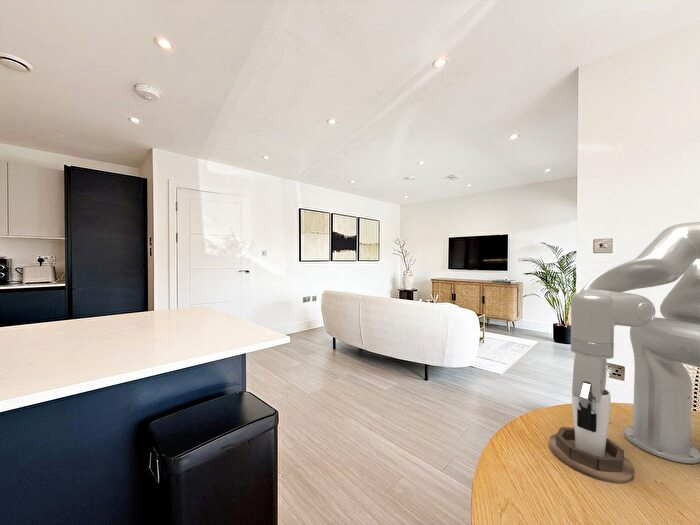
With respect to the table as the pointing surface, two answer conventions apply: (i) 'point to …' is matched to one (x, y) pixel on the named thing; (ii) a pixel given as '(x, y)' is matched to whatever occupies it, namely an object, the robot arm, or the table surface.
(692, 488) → the table surface
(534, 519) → the table surface
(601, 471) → the glass holder
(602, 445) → the drinking glass
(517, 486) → the table surface
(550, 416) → the table surface
